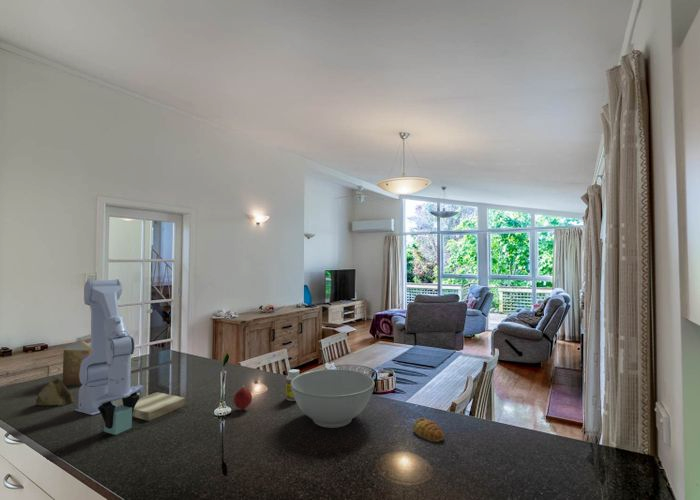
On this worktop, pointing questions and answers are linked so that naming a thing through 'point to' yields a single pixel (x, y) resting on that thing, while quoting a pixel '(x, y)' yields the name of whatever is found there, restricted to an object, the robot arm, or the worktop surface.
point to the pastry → (428, 430)
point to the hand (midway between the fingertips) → (118, 423)
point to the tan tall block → (75, 359)
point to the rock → (54, 394)
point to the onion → (242, 398)
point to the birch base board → (157, 405)
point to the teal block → (120, 420)
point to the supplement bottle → (289, 378)
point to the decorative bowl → (332, 395)
